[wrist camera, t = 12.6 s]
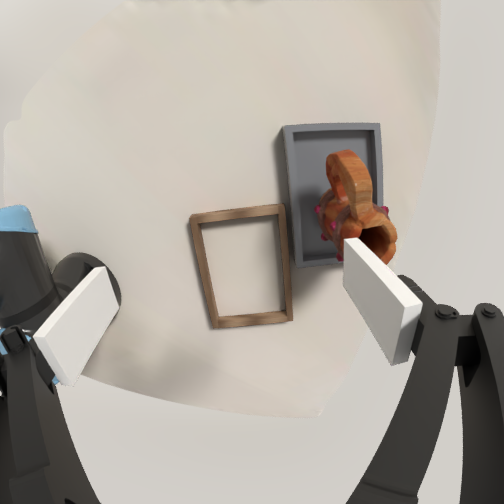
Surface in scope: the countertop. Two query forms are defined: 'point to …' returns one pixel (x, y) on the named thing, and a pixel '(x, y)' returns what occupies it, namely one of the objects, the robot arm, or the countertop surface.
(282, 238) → the wooden picture frame
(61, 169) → the countertop surface
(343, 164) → the mug
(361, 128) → the tray
